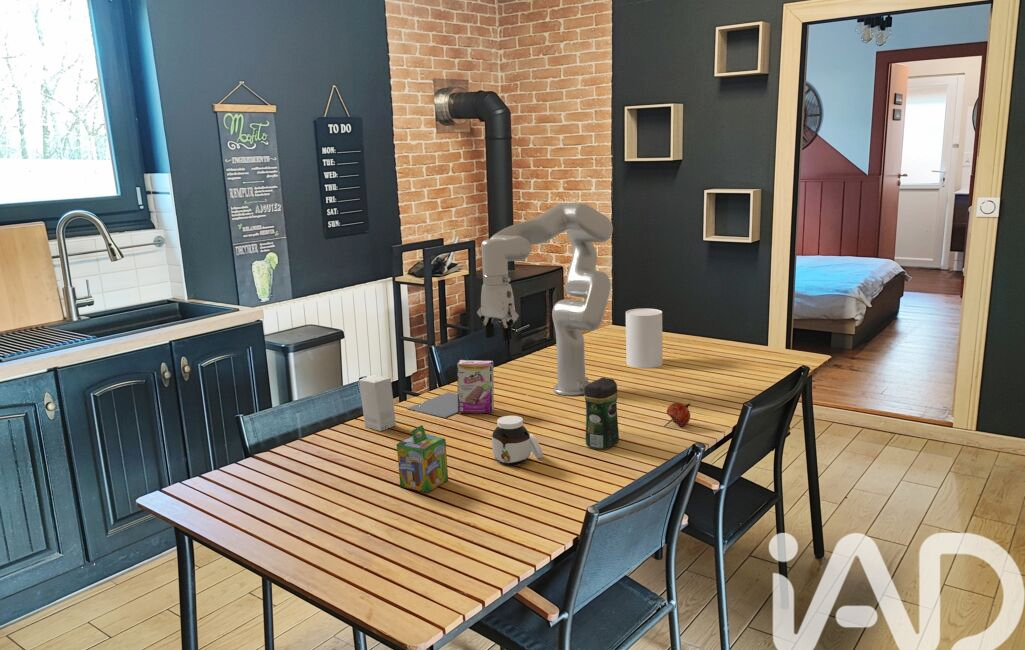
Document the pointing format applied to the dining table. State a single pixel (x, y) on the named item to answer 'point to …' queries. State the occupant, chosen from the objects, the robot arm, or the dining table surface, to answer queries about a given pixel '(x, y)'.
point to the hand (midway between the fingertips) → (498, 338)
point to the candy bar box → (475, 386)
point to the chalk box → (422, 461)
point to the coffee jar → (601, 413)
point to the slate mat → (439, 405)
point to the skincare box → (377, 402)
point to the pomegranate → (679, 414)
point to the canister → (644, 338)
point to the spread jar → (513, 442)
